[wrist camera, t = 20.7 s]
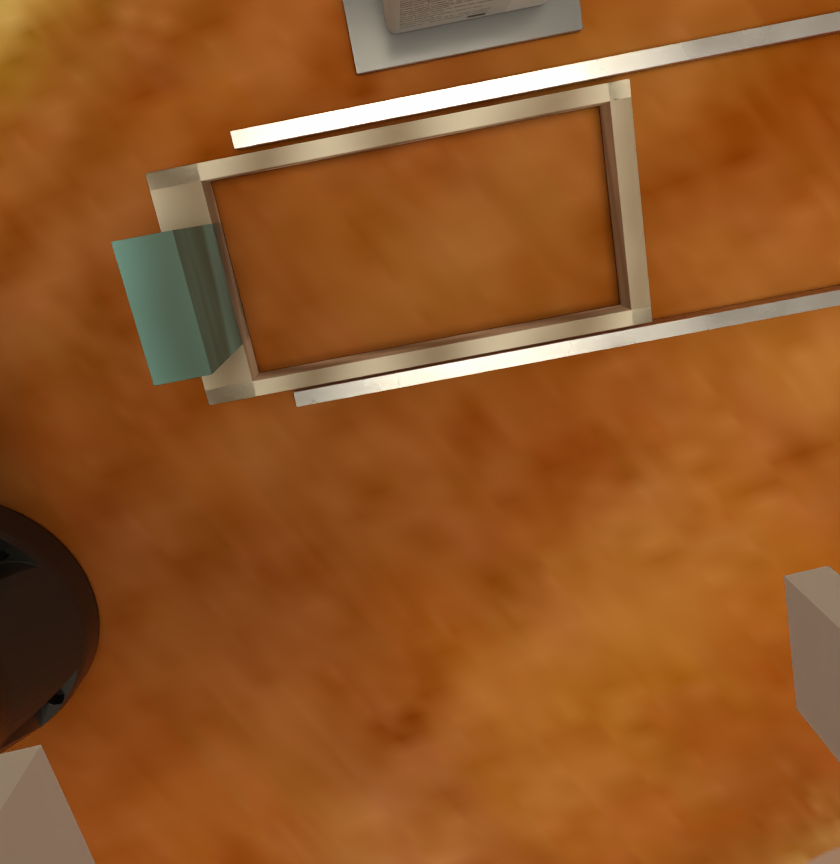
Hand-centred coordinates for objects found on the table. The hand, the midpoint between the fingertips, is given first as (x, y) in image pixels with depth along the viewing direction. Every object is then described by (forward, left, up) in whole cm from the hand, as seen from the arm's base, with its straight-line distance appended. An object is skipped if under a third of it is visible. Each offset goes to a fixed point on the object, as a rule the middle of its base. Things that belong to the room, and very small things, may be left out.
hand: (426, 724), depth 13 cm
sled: (+1, +6, -30) cm, 30 cm away
